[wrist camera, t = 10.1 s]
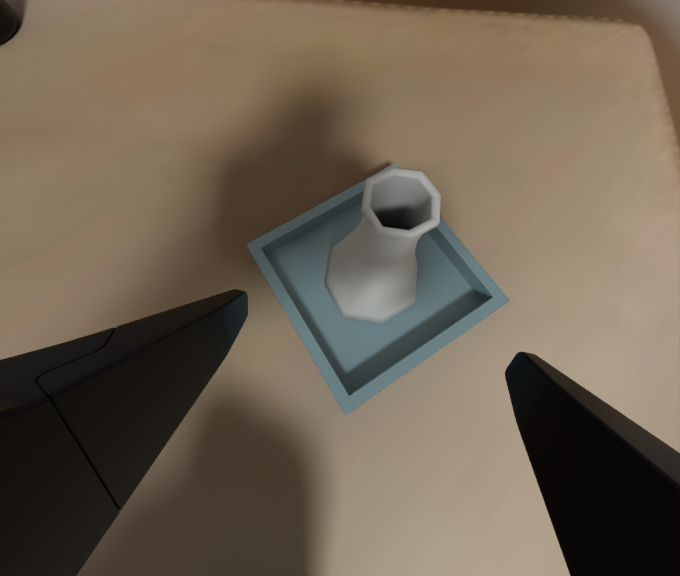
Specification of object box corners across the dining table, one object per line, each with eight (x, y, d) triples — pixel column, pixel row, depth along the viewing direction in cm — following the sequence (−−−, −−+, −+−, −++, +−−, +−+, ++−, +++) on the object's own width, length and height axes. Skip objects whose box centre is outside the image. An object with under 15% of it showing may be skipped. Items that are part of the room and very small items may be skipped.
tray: (494, 305, 19) (509, 300, 18) (344, 409, 18) (345, 415, 16) (391, 177, 23) (395, 162, 21) (253, 254, 21) (245, 244, 19)
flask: (405, 228, 21) (462, 116, 11) (428, 315, 19) (522, 270, 9) (317, 242, 20) (298, 138, 11) (332, 332, 18) (325, 304, 9)
